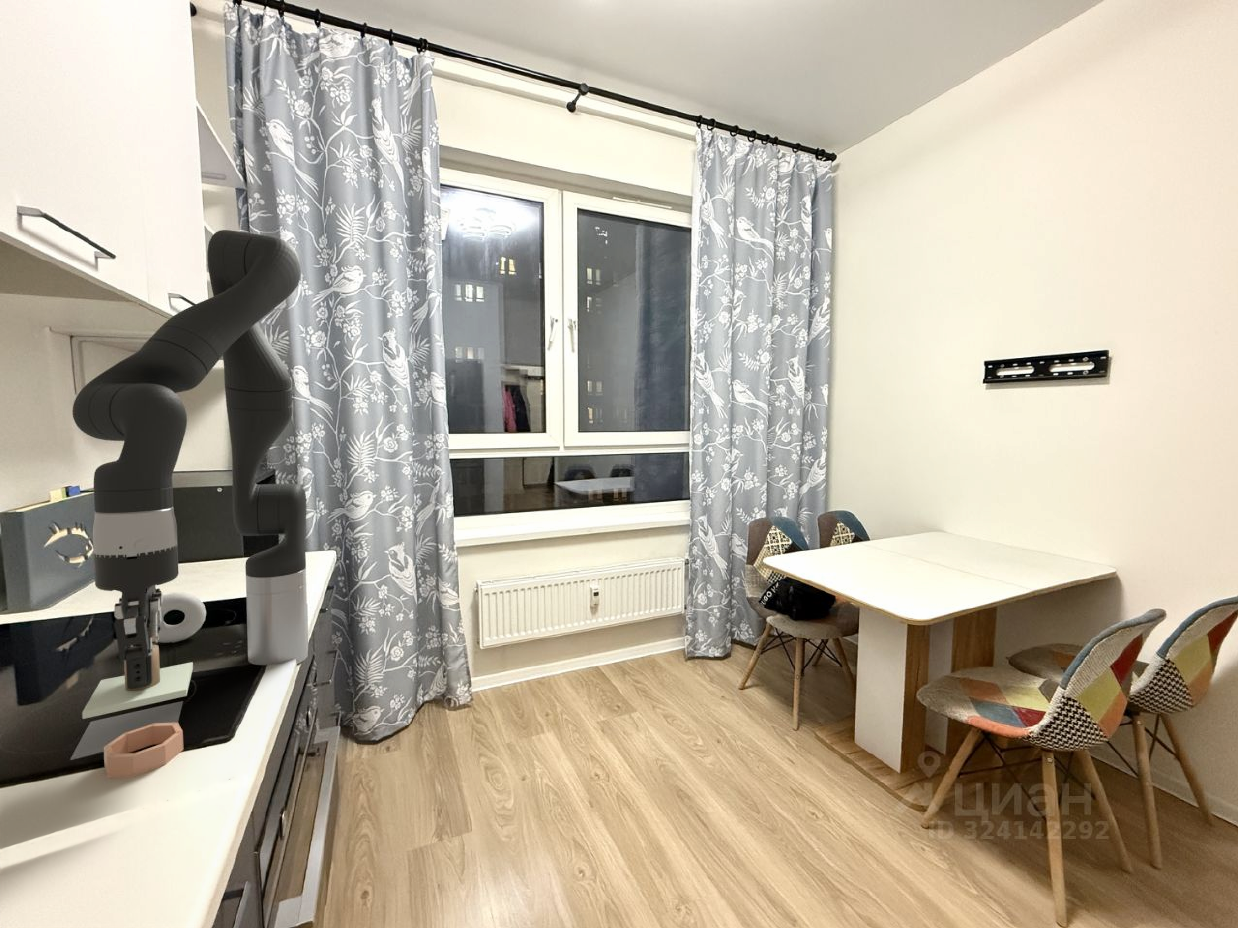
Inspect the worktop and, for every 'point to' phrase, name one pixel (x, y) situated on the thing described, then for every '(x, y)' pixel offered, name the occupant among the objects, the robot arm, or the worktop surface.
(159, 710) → the mat
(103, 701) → the lid
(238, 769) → the worktop surface
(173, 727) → the pink hollow octagonal piece
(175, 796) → the worktop surface
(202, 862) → the worktop surface
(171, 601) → the donut
